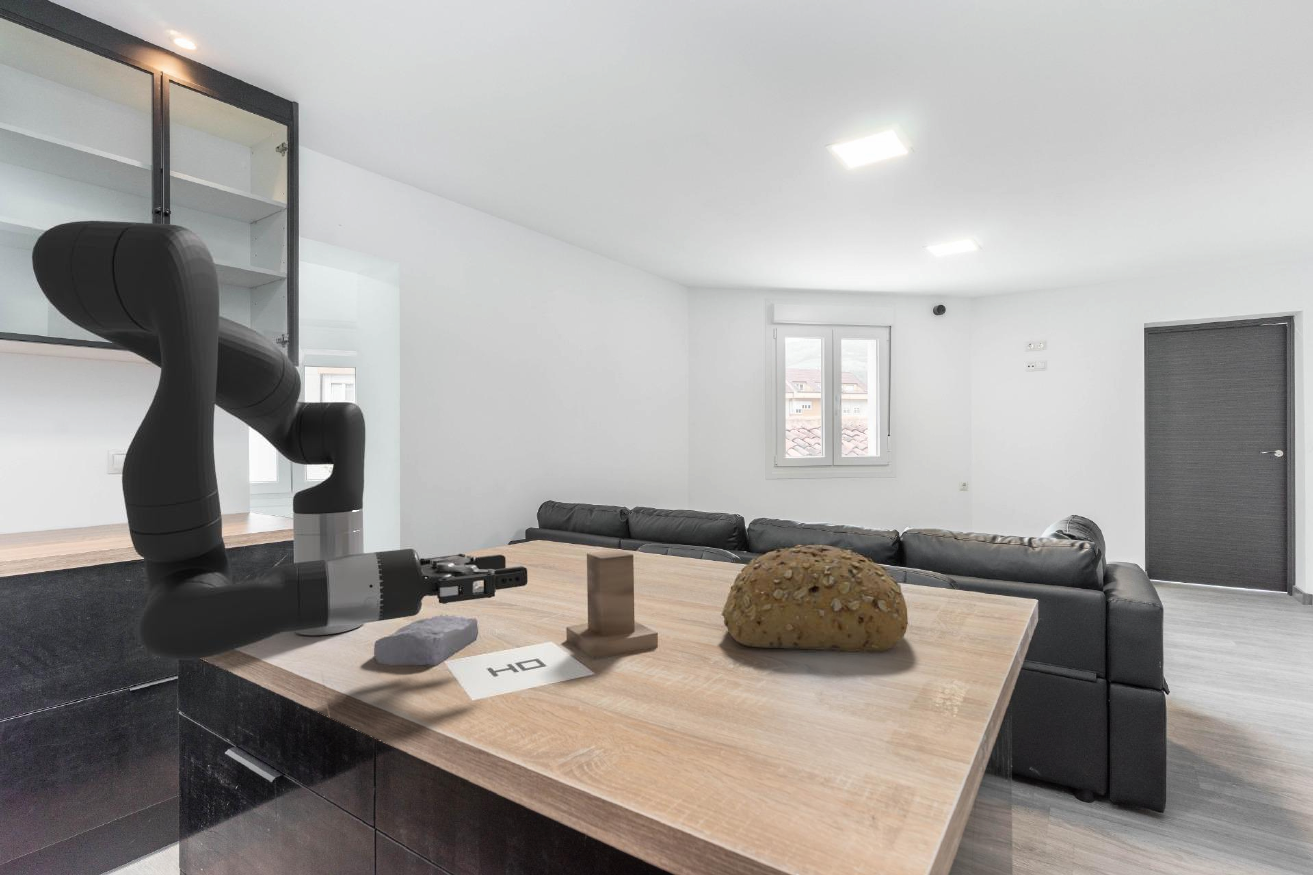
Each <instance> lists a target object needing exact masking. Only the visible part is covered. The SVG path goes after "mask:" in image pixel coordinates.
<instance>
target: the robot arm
mask: <svg viewBox="0 0 1313 875" xmlns="http://www.w3.org/2000/svg"><path fill="white" fill-rule="evenodd" d="M31 254H32V255H31V260H32V261H31V262H32V269H33V272H34V273H33V274H34V276H35V279H36V281H37V282H36V283H38V286H39V288H40V290H41V291H42V293H43V295H44V296H45V297H46V299H47V300H48V301H49V303H50V304H51V305H52V306H53V307H54V308H55V309H56V310H57V311H58V312H59V313H60V314H61V315H62V316H64V317H65V318H66V319H67V320H69V321H70V322H72V323H73V324H74V325H76V326H78V327H80V328H82V329H83V330H86V331H87V332H90V333H91V334H93V335H96V336H97V337H99V338H102V339H104V340H106V341H108V342H110V343H112V344H114V345H116V346H119V347H121V348H123V349H125V350H127V351H129V352H131V353H133V354H135V355H137V356H139V357H141V358H143V359H144V360H146V361H148V362H150V363H152V364H154V365H155V366H157V367H158V368H160V374H159V375H160V376H159V380H158V385H157V389H156V390H155V393H154V396H153V399H152V401H151V404H150V406H149V408H148V410H147V411H146V413H145V416H144V418H143V420H142V421H141V422H140V425H139V427H138V428H137V430H136V433H135V434H134V436H133V438H132V440H131V442H130V444H129V446H128V448H127V451H126V453H125V457H124V459H123V460H124V461H123V466H122V471H121V472H122V476H121V485H122V486H121V487H122V493H123V499H124V506H125V512H126V518H127V525H128V529H129V530H128V531H129V535H130V539H131V543H132V545H133V548H134V550H135V552H136V553H137V554H138V555H139V556H140V557H142V558H143V561H144V566H145V571H146V576H147V585H148V586H147V587H148V597H147V601H146V604H145V607H144V609H143V611H142V614H141V617H140V620H139V623H138V636H139V639H140V642H141V644H142V645H143V647H144V648H145V649H146V650H147V651H148V652H150V653H151V654H153V655H155V656H158V657H160V658H164V659H168V660H176V661H177V660H179V661H185V660H187V661H189V660H191V661H192V660H198V659H204V658H209V657H214V656H217V655H220V654H221V655H222V654H224V653H227V652H230V651H234V650H236V649H240V648H242V647H245V646H248V645H252V644H255V643H258V642H261V641H263V640H265V639H268V638H271V637H274V636H276V635H278V634H283V633H288V632H290V633H291V632H295V633H297V634H298V635H304V636H323V635H324V636H325V635H332V634H338V633H343V632H347V631H351V630H354V629H356V628H360V627H361V626H362V625H364V624H367V623H375V622H381V621H388V620H394V619H401V618H407V617H408V618H409V617H415V616H417V615H418V614H419V613H420V612H421V609H422V604H423V602H422V600H423V599H424V598H425V597H427V596H428V597H436V599H438V604H443V605H447V604H449V603H457V602H465V601H474V600H480V599H481V600H482V599H491V598H493V597H495V596H496V592H497V591H498V590H506V589H512V588H513V589H514V588H519V587H525V586H526V585H527V584H528V581H529V580H528V569H527V567H525V566H523V565H521V566H512V567H507V565H506V562H507V561H506V559H507V558H506V556H505V555H503V554H492V555H486V556H485V555H484V556H473V555H470V554H469V555H466V554H465V553H458V554H453V555H446V556H445V555H443V556H437V557H436V556H435V557H428V558H425V557H424V558H420V557H419V556H420V555H419V554H418V552H417V551H416V550H415V549H414V548H404V549H394V550H393V549H392V550H385V551H384V550H383V551H375V552H374V551H373V552H366V553H365V549H364V546H365V544H364V509H363V508H364V500H363V499H364V489H365V458H366V457H365V456H366V421H365V417H364V413H363V411H362V409H361V408H360V406H359V405H357V404H356V403H354V402H350V401H349V402H347V401H343V402H341V401H339V402H338V401H334V402H333V401H331V402H330V401H329V402H327V401H324V402H323V401H322V402H321V401H319V402H310V401H309V402H306V401H304V402H303V401H299V398H300V394H301V391H302V390H301V389H302V388H301V387H302V382H301V376H300V373H299V371H298V369H297V366H295V364H294V363H293V361H291V359H290V358H289V357H288V356H287V355H286V354H285V353H284V352H283V351H282V350H280V348H278V347H277V346H276V345H275V343H273V342H272V341H271V340H270V339H268V338H267V337H266V336H265V335H263V334H261V333H260V332H258V331H256V330H254V329H253V328H250V327H248V326H246V325H244V324H241V323H239V322H236V321H234V320H230V319H228V318H226V317H223V316H221V315H220V295H219V294H220V293H219V292H220V291H219V290H220V287H219V281H218V280H219V279H218V274H217V269H216V265H215V262H214V260H213V256H212V254H211V251H210V250H209V249H208V247H207V245H206V243H205V242H204V241H203V240H202V239H201V238H200V237H199V236H198V234H196V233H195V232H193V231H192V230H190V229H188V228H186V227H184V226H182V225H176V224H170V223H169V224H168V223H156V222H155V223H154V222H153V223H152V222H135V221H134V222H133V221H132V222H131V221H130V222H129V221H111V220H82V221H80V220H79V221H71V222H65V223H61V224H58V225H55V226H53V227H51V228H49V229H47V230H46V231H44V232H43V233H42V234H41V235H40V236H39V237H38V238H37V240H36V242H35V244H34V246H33V248H32V253H31ZM216 406H217V407H218V408H220V409H221V410H223V411H224V412H226V413H227V414H229V415H231V416H233V417H235V418H237V419H239V420H240V421H241V422H243V423H244V424H246V425H247V426H248V427H250V428H251V429H253V430H254V431H256V432H257V433H258V434H260V436H262V437H263V438H264V439H265V440H267V442H268V443H270V445H271V446H273V447H274V448H275V450H277V452H279V453H280V454H281V455H282V456H283V457H285V459H286V460H289V461H290V462H292V463H295V464H299V465H305V466H306V465H307V466H308V465H311V466H317V465H332V470H331V474H330V475H329V476H328V477H327V478H326V479H325V480H323V481H321V482H319V483H318V484H316V485H314V486H310V487H308V488H305V489H302V490H300V491H298V492H296V493H295V494H294V495H293V497H292V511H293V512H292V521H293V522H292V523H293V525H292V529H293V530H292V532H293V562H290V563H289V562H288V563H284V564H279V565H274V566H273V567H270V568H269V569H268V570H266V571H265V572H264V574H263V575H262V576H261V577H259V578H258V579H253V580H249V581H244V582H240V583H234V581H233V574H232V570H231V569H232V568H231V565H230V560H229V557H228V556H229V555H228V552H227V548H226V545H225V542H224V538H223V520H222V517H223V516H222V509H221V502H220V493H219V487H218V480H217V479H218V478H217V472H216V462H215V445H214V444H215V443H214V441H215V440H214V436H215V435H214V434H215V433H214V431H215V429H214V428H215V408H216ZM481 581H483V585H481V586H480V585H479V584H478V582H481Z"/></svg>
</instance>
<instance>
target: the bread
mask: <svg viewBox="0 0 1313 875" xmlns="http://www.w3.org/2000/svg"><path fill="white" fill-rule="evenodd" d="M905 600H906V599H905V596H904V594H903V592H902V587H901V584H900V583H898V582H897V581H896V580H895V578H893V575H892V574H890V573H889V572H888V571H887V568H886V567H885V566H883V565H882V564H878V563H876V562H874V561H873V560H872V558H869V557H868V558H867V557H864V556H863V555H861V554H859V553H858V552H853V551H852V550H850V549H847V550H846V549H843V548H840V547H835V546H831V545H827V544H825V545H824V544H809V545H808V544H807V545H805V544H797V545H795V546H794V547H791V548H788V547H785V548H781V546H780V547H778V548H777V549H775V550H774V551H769V552H766V553H765V554H763V555H760V556H759V557H758V558H752V559H751V560H750V561H749V562H748V563H747V564H746V565H745V566H744V567H743V568H741V570H740V572H739V573H737V575H736V577H735V580H734V582H733V585H731V586H730V591H729V593H728V596H727V598H726V601H725V603H724V605H723V609H722V612H721V614H720V616H722V617H723V623H724V626H725V627H726V628H727V630H728V631H729V634H730V636H731V637H732V639H734V640H735V641H736V642H738V643H739V644H741V645H743V646H747V647H753V648H764V649H803V650H829V651H835V652H867V653H872V652H873V653H874V652H875V653H876V652H877V653H878V652H884V651H887V650H888V649H891V648H893V647H895V646H896V645H897V644H899V643H900V642H901V641H902V640H903V638H904V636H905V635H906V632H907V629H908V628H907V627H908V625H909V622H908V621H909V620H908V618H909V617H908V607H907V604H906V601H905Z"/></svg>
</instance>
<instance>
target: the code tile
mask: <svg viewBox="0 0 1313 875" xmlns="http://www.w3.org/2000/svg"><path fill="white" fill-rule="evenodd" d="M443 663H444V665H445V666H446V667H447V668H448V669H449V671H450V672H451V675H452V676H454V678H455V679H456V680H457V682H458V683H459V685H460V686H461V688H462V689H463V690H464V691H465V692H466V695H468V697H469V698H470V699H471V701H472V702H473V701H477V700H482V699H486V698H491V697H495V696H496V697H497V696H500V695H504V694H509V693H513V692H518V691H524V690H527V689H531V688H533V689H534V688H537V687H541V686H546V685H551V684H554V683H560V682H564V681H569V680H573V679H578V678H582V677H587V676H593V675H596V673H595V672H593V671H592V670H591V669H589V668H588V667H587V666H585V665H584V664H582V663H581V662H579V660H577V659H576V658H574V657H573V656H572V655H570V654H569V653H567V652H566V651H565V650H563V649H562V648H561V647H559V646H558V645H556V644H555V643H554V642H553V641H547V642H544V643H537V644H531V645H527V646H521V647H520V646H519V647H516V648H510V649H505V650H500V651H494V652H493V651H492V652H488V653H484V654H477V655H472V656H467V657H462V658H456V659H450V660H445V661H443Z"/></svg>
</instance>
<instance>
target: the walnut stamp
mask: <svg viewBox="0 0 1313 875" xmlns="http://www.w3.org/2000/svg"><path fill="white" fill-rule="evenodd" d="M634 566H635V564H634V554H633V553H629V552H625V551H622V550H620V549H613V550H612V549H611V550H605V551H604V550H603V551H596V552H595V551H594V552H587V553H586V581H587V582H586V583H587V584H586V587H587V588H586V589H587V590H586V592H587V593H586V594H587V595H586V596H587V622H586V623H581V624H576V625H570V626H566V627H565V628H566V641H567V642H568V643H569V644H571V645H573V646H574V647H576V648H577V649H579V650H581V652H583V653H584V654H585V655H587V656H588V657H590V658H592V659H593V660H597V659H598V660H599V659H602V658H603V659H604V658H607V657H613V656H618V655H622V654H627V653H633V652H638V651H642V650H648V649H651V648H657V647H658V646H659V639H658V637H659V635H658V634H659V632H657V631H655V630H653V629H652V628H649V627H647V626H645V625H643V624H641V623H640V622H637V621H636V620H635V575H634V574H635V573H634V569H635V568H634Z"/></svg>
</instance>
